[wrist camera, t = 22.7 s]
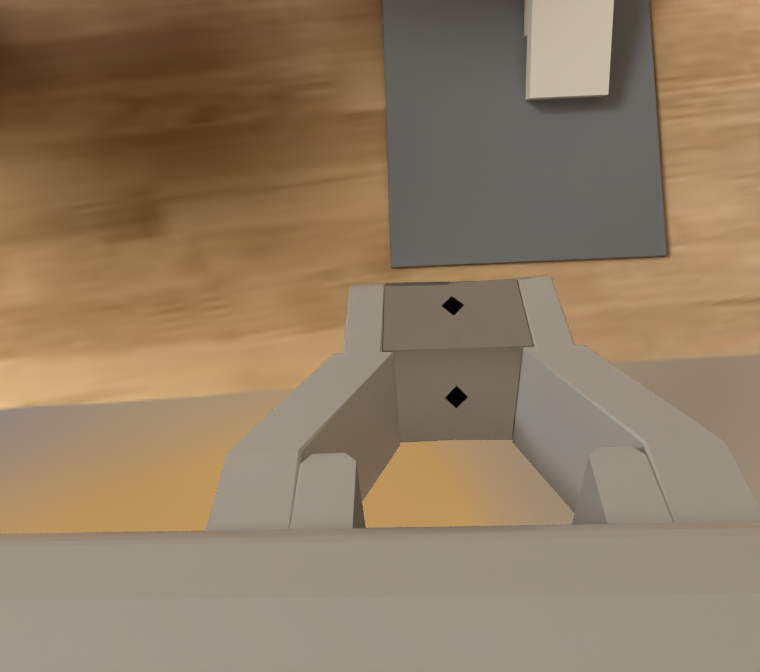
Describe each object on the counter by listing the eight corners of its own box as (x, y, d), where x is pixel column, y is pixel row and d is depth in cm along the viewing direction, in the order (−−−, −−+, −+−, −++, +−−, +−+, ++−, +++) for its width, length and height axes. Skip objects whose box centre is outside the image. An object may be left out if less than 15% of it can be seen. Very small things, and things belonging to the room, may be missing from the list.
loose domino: (529, 98, 40) (534, -79, 37) (525, 100, 41) (529, -70, 39) (608, 94, 40) (618, -84, 37) (601, 96, 41) (610, -75, 38)
